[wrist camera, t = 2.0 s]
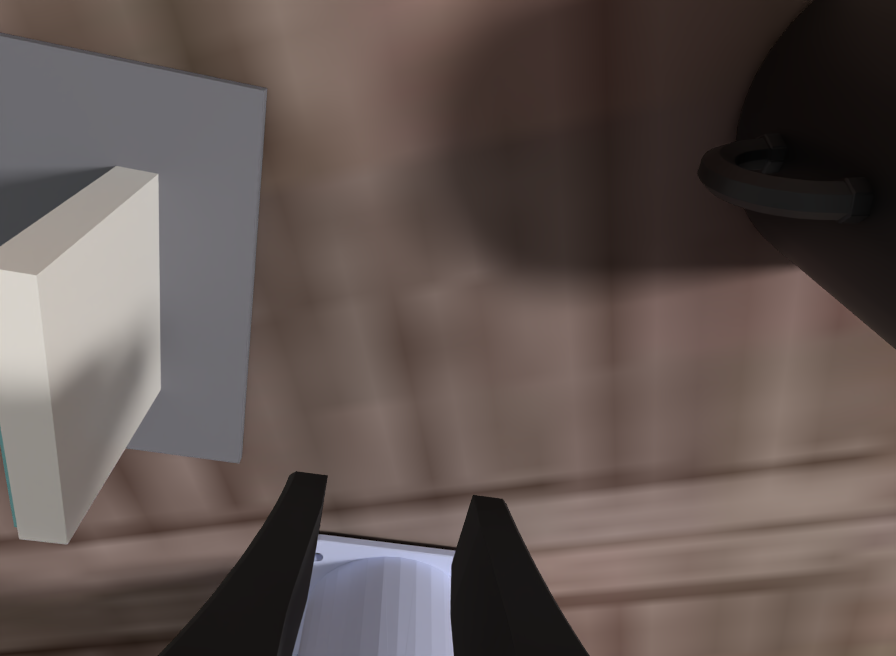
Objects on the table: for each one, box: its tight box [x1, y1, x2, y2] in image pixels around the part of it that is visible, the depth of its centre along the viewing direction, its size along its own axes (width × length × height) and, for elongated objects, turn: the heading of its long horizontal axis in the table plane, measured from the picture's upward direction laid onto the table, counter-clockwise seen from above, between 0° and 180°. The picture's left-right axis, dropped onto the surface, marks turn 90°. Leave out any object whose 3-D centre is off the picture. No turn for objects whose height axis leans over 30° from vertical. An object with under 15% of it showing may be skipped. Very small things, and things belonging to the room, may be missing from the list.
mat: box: [0, 33, 267, 463], centre depth 21 cm, size 14×13×1 cm
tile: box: [0, 166, 161, 544], centre depth 18 cm, size 8×1×7 cm, turn 168°
